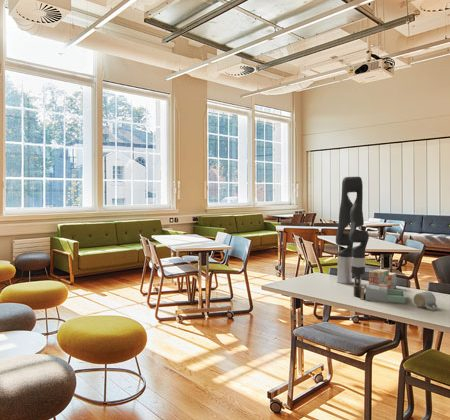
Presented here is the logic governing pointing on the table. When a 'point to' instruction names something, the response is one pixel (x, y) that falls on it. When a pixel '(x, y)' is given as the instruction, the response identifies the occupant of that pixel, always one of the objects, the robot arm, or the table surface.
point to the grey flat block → (375, 293)
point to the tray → (396, 296)
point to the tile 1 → (383, 289)
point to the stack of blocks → (382, 278)
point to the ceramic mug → (425, 300)
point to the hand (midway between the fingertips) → (357, 294)
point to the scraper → (360, 292)
